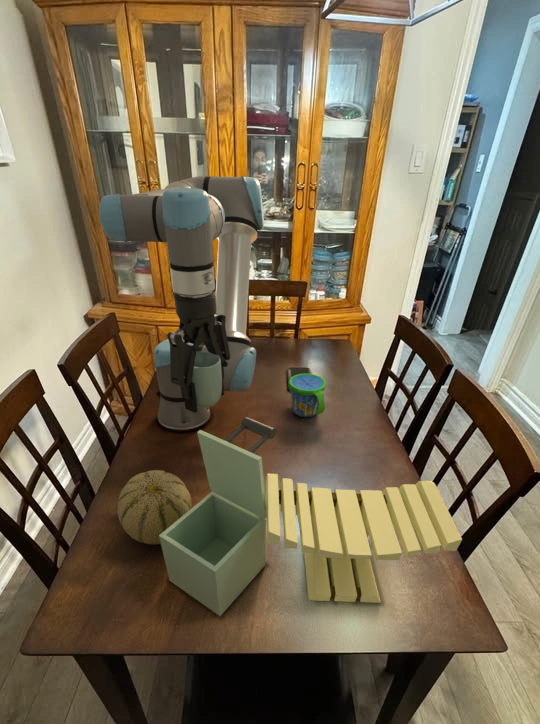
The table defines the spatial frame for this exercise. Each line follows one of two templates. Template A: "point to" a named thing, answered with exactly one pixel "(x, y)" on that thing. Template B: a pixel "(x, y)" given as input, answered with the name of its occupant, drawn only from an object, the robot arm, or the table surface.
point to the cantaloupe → (152, 505)
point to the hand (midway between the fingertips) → (205, 401)
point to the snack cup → (307, 394)
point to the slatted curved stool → (356, 531)
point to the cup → (207, 378)
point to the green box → (214, 551)
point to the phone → (296, 372)
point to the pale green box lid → (237, 467)
